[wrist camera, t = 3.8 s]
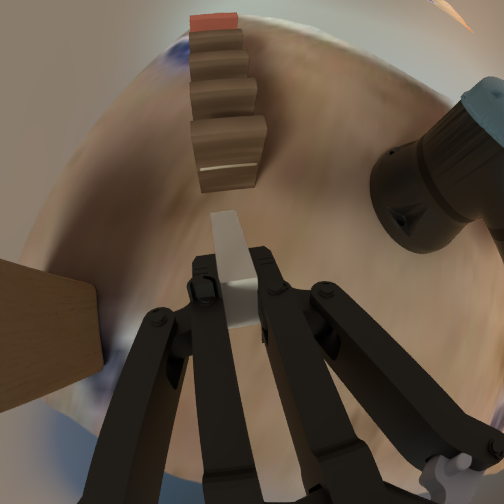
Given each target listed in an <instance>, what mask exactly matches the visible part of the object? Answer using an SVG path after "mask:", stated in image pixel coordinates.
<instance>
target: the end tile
mask: <svg viewBox="0 0 504 504" xmlns="http://www.w3.org/2000/svg"><path fill="white" fill-rule="evenodd" d="M237 24H238V15H237V13H215V14H202V15H193V16H190V32H198V31H208V30H223V29H237Z"/></svg>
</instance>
